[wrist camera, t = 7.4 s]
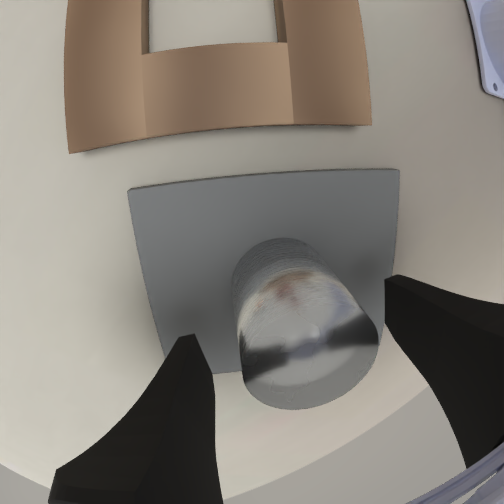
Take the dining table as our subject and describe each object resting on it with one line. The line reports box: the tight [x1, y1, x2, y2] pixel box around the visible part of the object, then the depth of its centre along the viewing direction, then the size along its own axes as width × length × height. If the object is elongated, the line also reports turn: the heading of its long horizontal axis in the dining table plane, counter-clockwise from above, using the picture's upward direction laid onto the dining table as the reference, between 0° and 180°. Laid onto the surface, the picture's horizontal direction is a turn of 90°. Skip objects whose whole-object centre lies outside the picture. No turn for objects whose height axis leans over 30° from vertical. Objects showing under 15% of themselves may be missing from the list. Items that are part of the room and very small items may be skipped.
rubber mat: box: [127, 169, 400, 374], centre depth 14 cm, size 12×10×1 cm
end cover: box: [231, 238, 379, 410], centre depth 11 cm, size 4×4×6 cm
